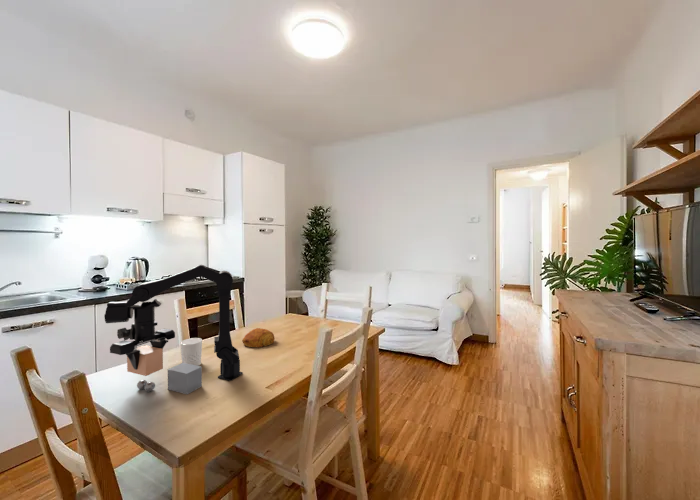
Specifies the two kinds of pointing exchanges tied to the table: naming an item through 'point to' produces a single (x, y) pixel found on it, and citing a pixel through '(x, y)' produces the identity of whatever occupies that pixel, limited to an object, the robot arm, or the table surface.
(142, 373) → the peach rectangular block
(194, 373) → the pale grey box
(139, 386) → the marble
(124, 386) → the table surface
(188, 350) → the white cup
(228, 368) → the robot arm
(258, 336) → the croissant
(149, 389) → the marble
